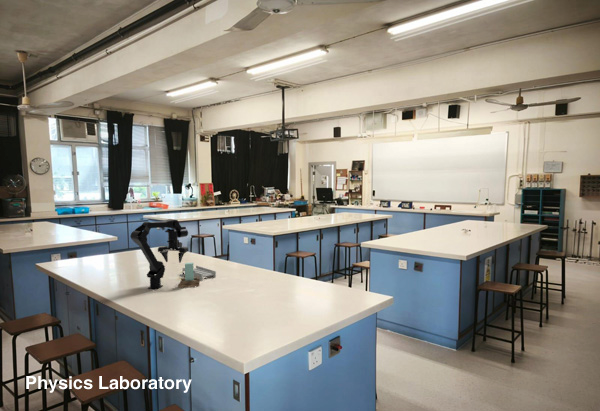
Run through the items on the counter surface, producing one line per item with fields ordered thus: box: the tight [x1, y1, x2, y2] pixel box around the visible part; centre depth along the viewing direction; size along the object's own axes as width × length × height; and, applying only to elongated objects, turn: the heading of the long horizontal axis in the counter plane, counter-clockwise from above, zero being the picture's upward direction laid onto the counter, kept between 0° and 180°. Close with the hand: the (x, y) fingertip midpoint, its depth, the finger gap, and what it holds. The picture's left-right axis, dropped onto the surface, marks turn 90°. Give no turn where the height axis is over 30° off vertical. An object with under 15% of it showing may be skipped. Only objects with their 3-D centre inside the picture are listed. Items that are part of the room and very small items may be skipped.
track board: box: [178, 276, 201, 289], centre depth 220 cm, size 12×10×4 cm
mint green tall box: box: [184, 262, 195, 281], centre depth 220 cm, size 6×4×12 cm, turn 105°
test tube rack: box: [182, 265, 217, 281], centre depth 243 cm, size 25×4×13 cm
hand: (173, 262), depth 225 cm, fingers open, 9 cm apart
